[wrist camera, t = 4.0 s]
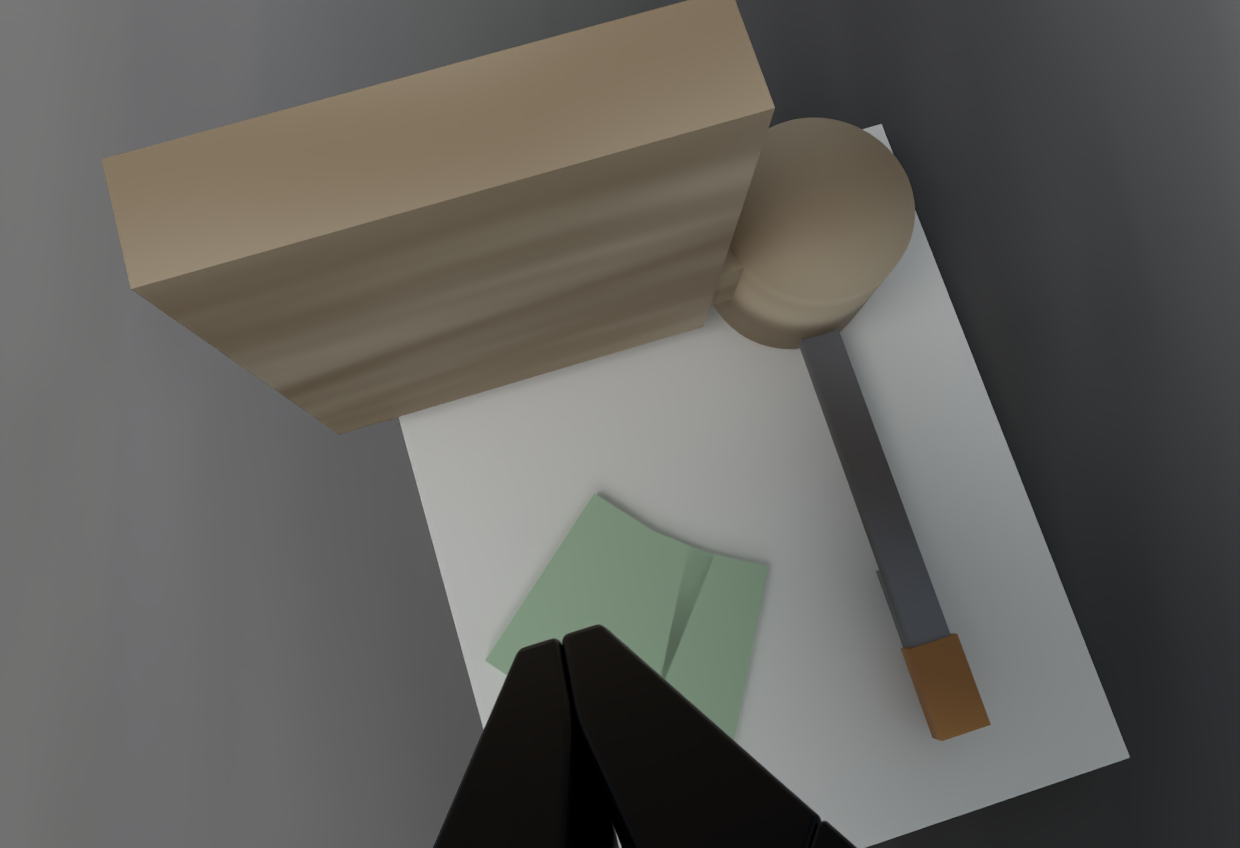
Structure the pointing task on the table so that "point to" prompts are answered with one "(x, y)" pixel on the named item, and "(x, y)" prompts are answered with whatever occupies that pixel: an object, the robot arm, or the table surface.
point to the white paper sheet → (773, 554)
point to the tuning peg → (544, 246)
